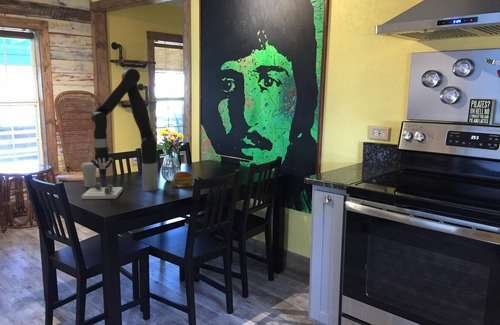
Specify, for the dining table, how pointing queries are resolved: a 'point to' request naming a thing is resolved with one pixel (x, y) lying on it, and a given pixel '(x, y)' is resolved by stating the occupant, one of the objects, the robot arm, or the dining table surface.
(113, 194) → the switch panel
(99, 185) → the back switch
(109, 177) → the dining table surface
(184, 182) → the burger
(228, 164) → the dining table surface
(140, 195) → the dining table surface
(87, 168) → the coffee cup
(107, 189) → the front switch
